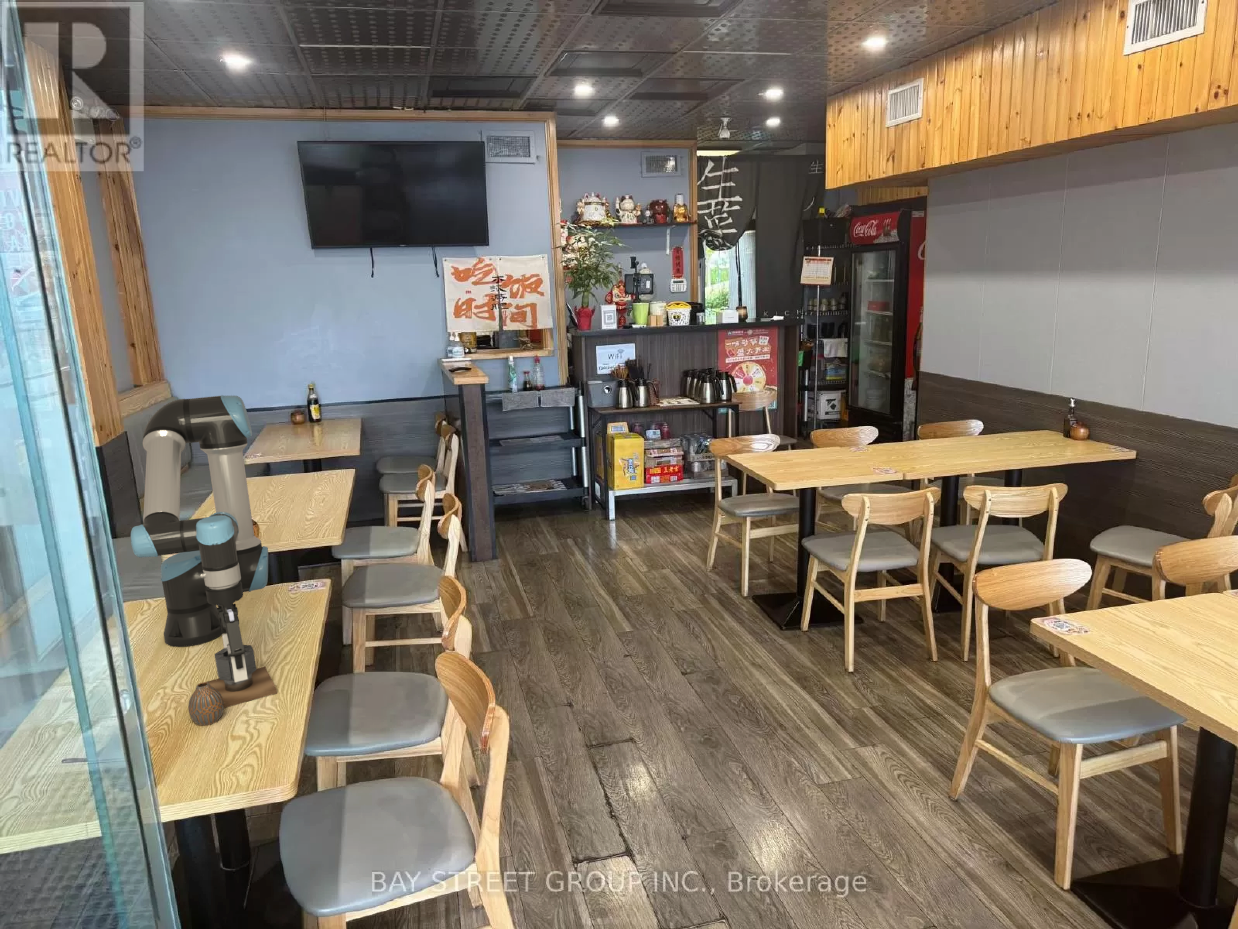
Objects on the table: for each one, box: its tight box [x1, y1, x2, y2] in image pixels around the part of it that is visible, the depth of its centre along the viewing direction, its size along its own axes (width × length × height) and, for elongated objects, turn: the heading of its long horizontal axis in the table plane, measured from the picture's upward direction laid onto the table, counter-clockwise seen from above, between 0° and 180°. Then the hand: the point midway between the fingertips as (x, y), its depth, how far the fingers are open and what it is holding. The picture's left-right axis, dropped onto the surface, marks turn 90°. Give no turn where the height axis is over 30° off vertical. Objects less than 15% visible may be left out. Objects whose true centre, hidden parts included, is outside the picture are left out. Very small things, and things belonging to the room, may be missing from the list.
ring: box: [214, 644, 257, 681], centre depth 195 cm, size 8×8×5 cm
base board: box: [206, 666, 278, 709], centre depth 196 cm, size 14×14×1 cm
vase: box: [188, 681, 225, 726], centre depth 182 cm, size 7×7×9 cm
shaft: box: [224, 644, 253, 692], centre depth 195 cm, size 6×6×10 cm
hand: (236, 669), depth 195 cm, fingers open, 13 cm apart
